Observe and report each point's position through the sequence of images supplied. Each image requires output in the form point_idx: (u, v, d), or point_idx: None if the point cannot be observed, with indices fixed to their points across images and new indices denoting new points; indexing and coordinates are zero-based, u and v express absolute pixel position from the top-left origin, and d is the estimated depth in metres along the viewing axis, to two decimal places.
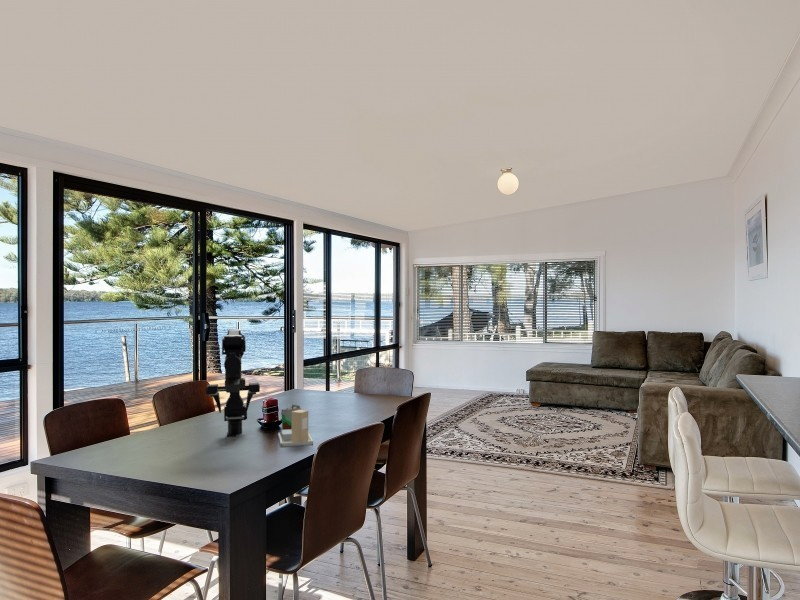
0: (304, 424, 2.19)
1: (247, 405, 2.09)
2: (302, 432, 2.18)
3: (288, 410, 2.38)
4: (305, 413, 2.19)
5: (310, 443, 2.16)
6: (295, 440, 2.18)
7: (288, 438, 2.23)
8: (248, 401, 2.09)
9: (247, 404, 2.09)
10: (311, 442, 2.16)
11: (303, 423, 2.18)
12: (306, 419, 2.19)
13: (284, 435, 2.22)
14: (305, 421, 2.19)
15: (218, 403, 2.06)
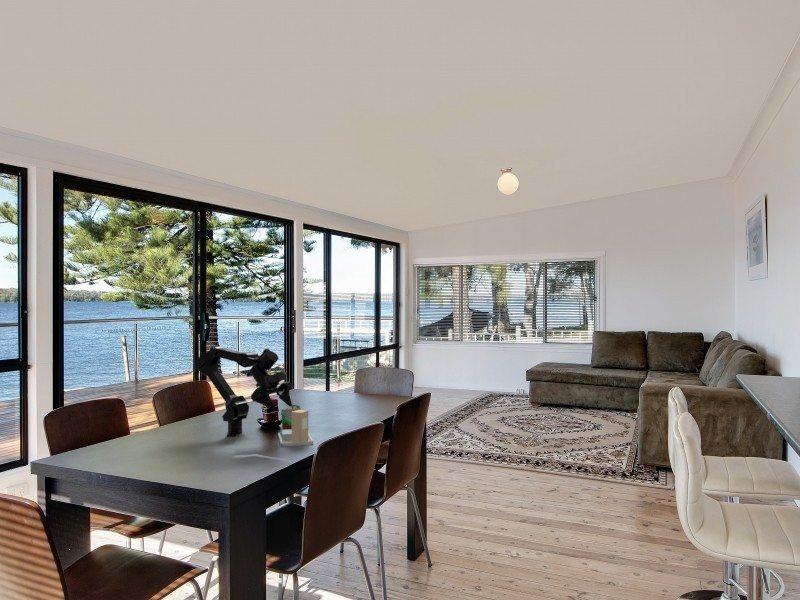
0: (304, 424, 2.19)
1: (289, 399, 2.28)
2: (302, 432, 2.18)
3: (288, 410, 2.38)
4: (305, 413, 2.19)
5: (310, 443, 2.16)
6: (295, 440, 2.18)
7: (288, 438, 2.23)
8: (288, 396, 2.29)
9: (289, 398, 2.28)
10: (311, 442, 2.16)
11: (303, 423, 2.18)
12: (306, 419, 2.19)
13: (284, 435, 2.22)
14: (305, 421, 2.19)
15: (271, 400, 2.20)
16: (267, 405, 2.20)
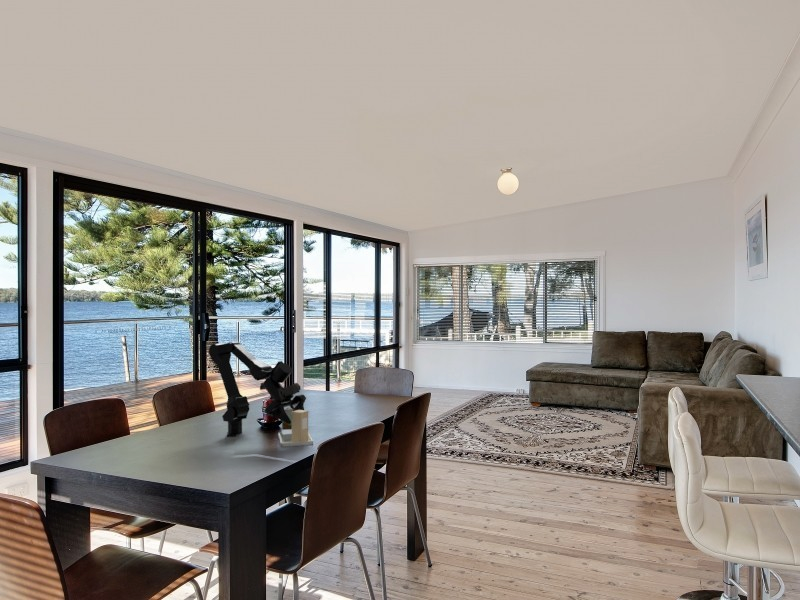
0: (304, 424, 2.19)
1: None
2: (302, 432, 2.18)
3: (288, 410, 2.38)
4: (305, 413, 2.19)
5: (310, 443, 2.16)
6: (295, 440, 2.18)
7: (288, 438, 2.23)
8: (303, 409, 2.26)
9: None
10: (311, 442, 2.16)
11: (303, 423, 2.18)
12: (306, 419, 2.19)
13: (284, 435, 2.22)
14: (305, 421, 2.19)
15: (285, 414, 2.16)
16: (282, 419, 2.16)
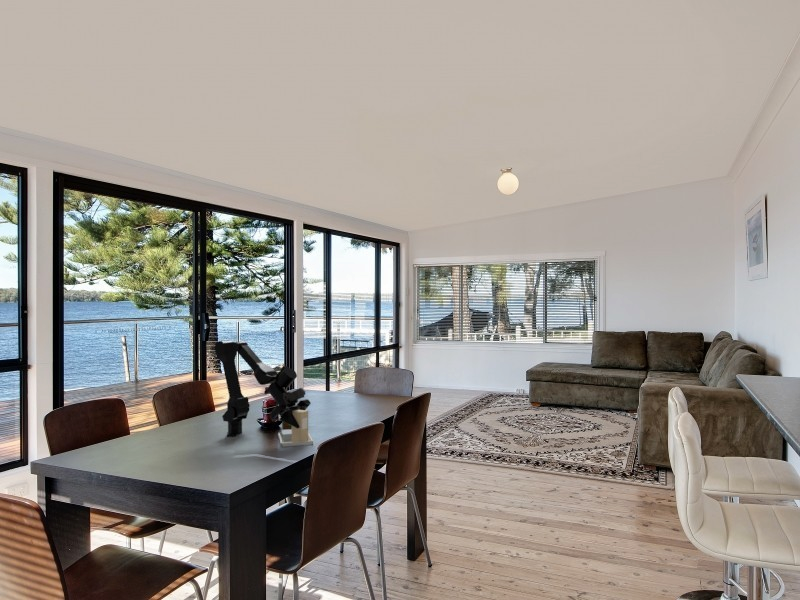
0: (304, 424, 2.19)
1: None
2: (302, 432, 2.18)
3: None
4: (305, 413, 2.19)
5: (310, 443, 2.16)
6: (295, 440, 2.18)
7: (288, 438, 2.23)
8: None
9: None
10: (311, 442, 2.16)
11: (303, 423, 2.18)
12: (306, 419, 2.19)
13: (284, 435, 2.22)
14: (305, 421, 2.19)
15: (294, 418, 2.17)
16: (290, 423, 2.17)
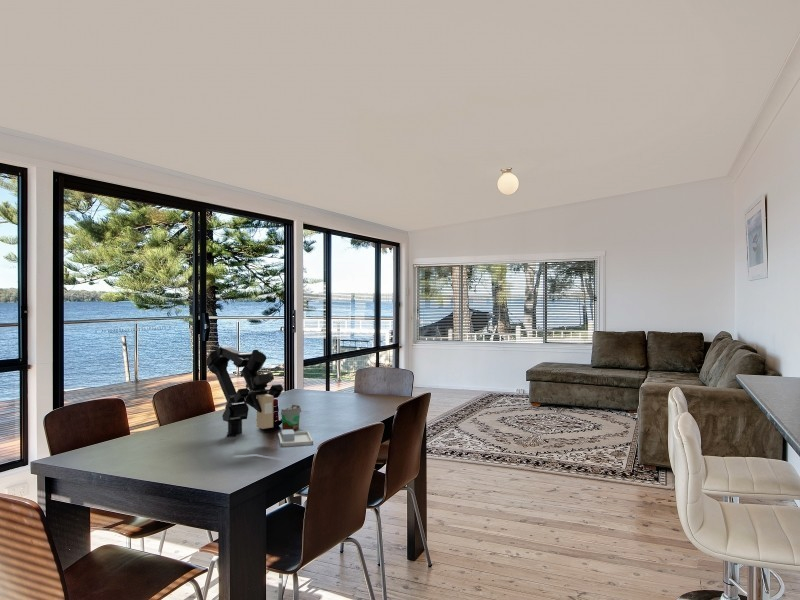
0: (268, 409, 2.16)
1: None
2: (265, 416, 2.16)
3: (288, 410, 2.38)
4: (269, 398, 2.17)
5: (310, 443, 2.16)
6: (259, 424, 2.17)
7: (288, 438, 2.23)
8: None
9: None
10: (311, 442, 2.16)
11: (266, 408, 2.16)
12: (270, 404, 2.17)
13: (284, 435, 2.22)
14: (269, 406, 2.17)
15: (257, 402, 2.16)
16: (254, 407, 2.17)
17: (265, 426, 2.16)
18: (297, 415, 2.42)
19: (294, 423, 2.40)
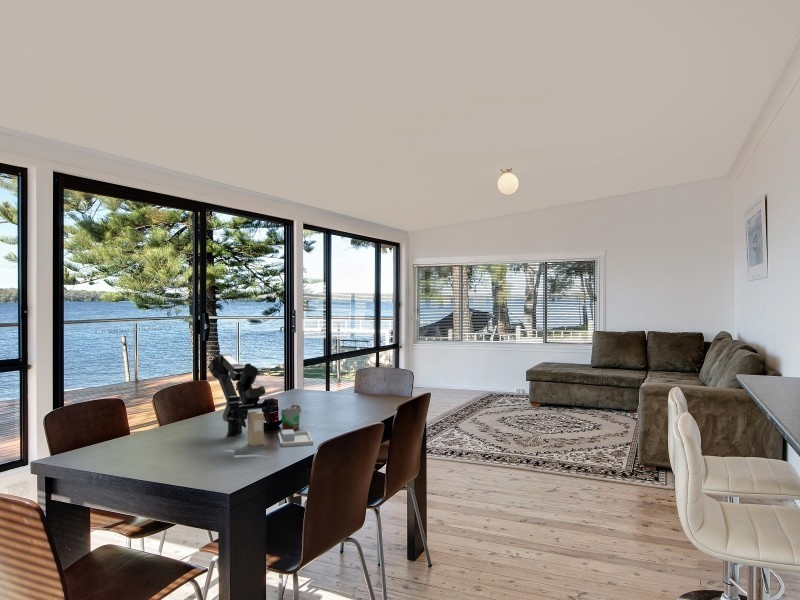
0: (258, 426, 2.16)
1: (268, 417, 2.20)
2: (255, 434, 2.15)
3: (288, 410, 2.38)
4: (259, 415, 2.16)
5: (310, 443, 2.16)
6: (249, 441, 2.17)
7: (288, 438, 2.23)
8: (268, 413, 2.21)
9: (268, 416, 2.21)
10: (311, 442, 2.16)
11: (255, 426, 2.15)
12: (260, 421, 2.16)
13: (284, 435, 2.22)
14: (259, 423, 2.16)
15: (242, 417, 2.15)
16: (239, 421, 2.16)
17: (255, 443, 2.15)
18: (297, 415, 2.42)
19: (294, 423, 2.40)
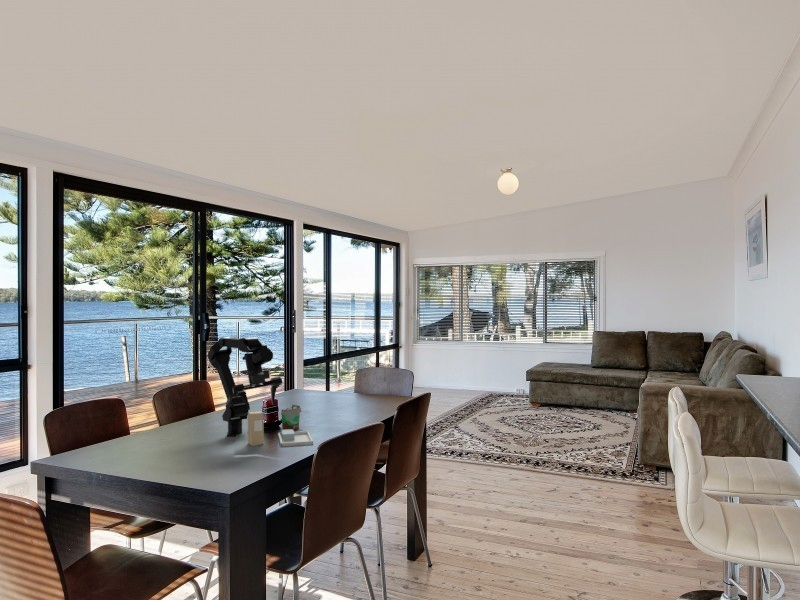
0: (258, 426, 2.16)
1: (273, 398, 2.24)
2: (255, 434, 2.15)
3: (288, 410, 2.38)
4: (259, 415, 2.16)
5: (310, 443, 2.16)
6: (249, 441, 2.17)
7: (288, 438, 2.23)
8: (273, 394, 2.24)
9: (273, 397, 2.24)
10: (311, 442, 2.16)
11: (255, 426, 2.15)
12: (260, 421, 2.16)
13: (284, 435, 2.22)
14: (259, 423, 2.16)
15: (246, 400, 2.20)
16: (244, 402, 2.22)
17: (255, 443, 2.15)
18: (297, 415, 2.42)
19: (294, 423, 2.40)
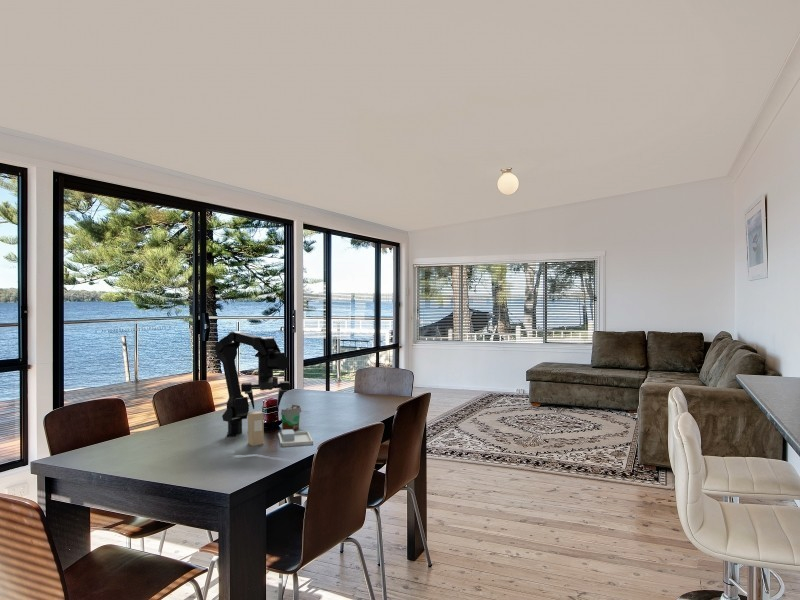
0: (258, 426, 2.16)
1: (278, 402, 2.25)
2: (255, 434, 2.15)
3: (288, 410, 2.38)
4: (259, 415, 2.16)
5: (310, 443, 2.16)
6: (249, 441, 2.17)
7: (288, 438, 2.23)
8: (279, 398, 2.25)
9: (278, 401, 2.25)
10: (311, 442, 2.16)
11: (255, 426, 2.15)
12: (260, 421, 2.16)
13: (284, 435, 2.22)
14: (259, 423, 2.16)
15: (252, 400, 2.22)
16: None
17: (255, 443, 2.15)
18: (297, 415, 2.42)
19: (294, 423, 2.40)
